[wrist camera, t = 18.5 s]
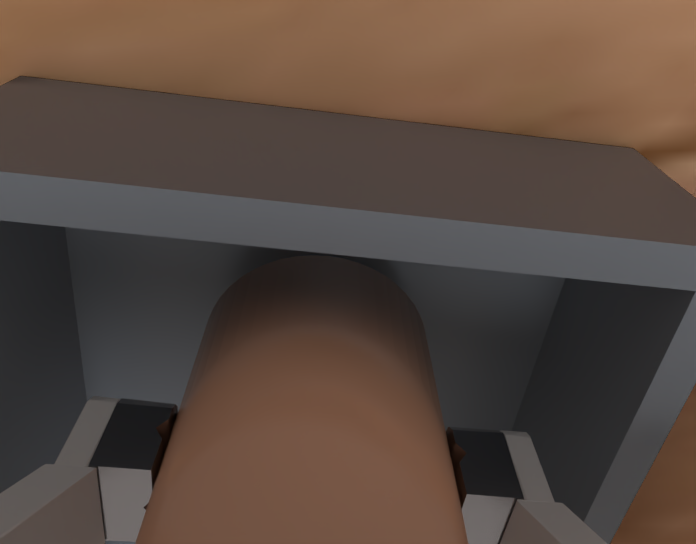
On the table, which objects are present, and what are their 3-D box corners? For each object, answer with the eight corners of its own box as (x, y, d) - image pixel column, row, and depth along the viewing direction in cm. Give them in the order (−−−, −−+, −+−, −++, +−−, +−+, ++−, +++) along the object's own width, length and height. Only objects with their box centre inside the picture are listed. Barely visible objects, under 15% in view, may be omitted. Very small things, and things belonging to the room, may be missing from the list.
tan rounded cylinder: (446, 268, 13) (544, 589, 7) (406, 440, 15) (449, 787, 9) (204, 243, 12) (74, 559, 6) (204, 424, 15) (110, 773, 9)
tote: (465, 599, 23) (494, 759, 18) (93, 576, 22) (33, 739, 17) (633, 148, 14) (764, 252, 10) (20, 75, 13) (-140, 156, 9)
